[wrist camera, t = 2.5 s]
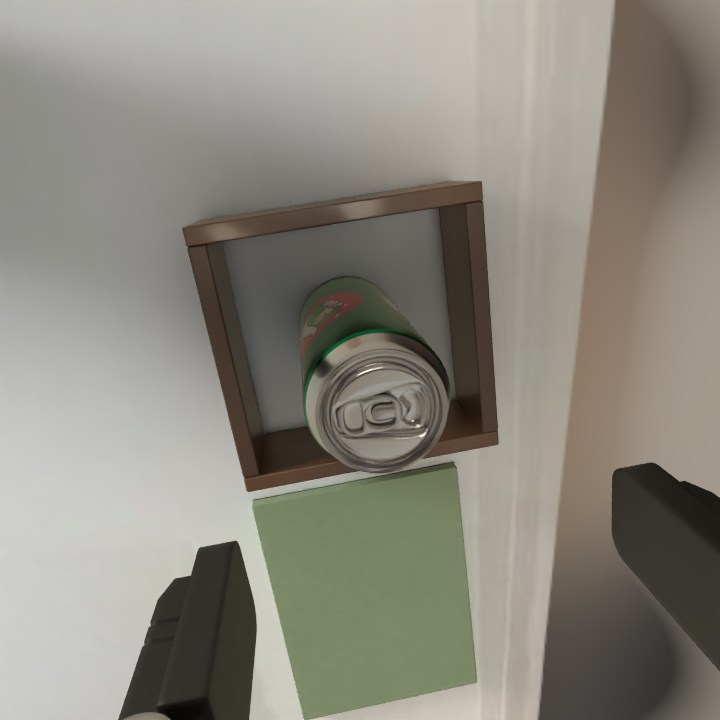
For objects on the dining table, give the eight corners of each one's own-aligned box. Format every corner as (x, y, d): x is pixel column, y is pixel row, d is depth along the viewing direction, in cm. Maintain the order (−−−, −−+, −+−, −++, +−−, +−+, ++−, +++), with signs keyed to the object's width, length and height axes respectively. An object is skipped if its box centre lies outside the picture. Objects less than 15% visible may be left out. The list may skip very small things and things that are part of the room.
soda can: (398, 360, 30) (464, 470, 18) (306, 374, 29) (316, 495, 18) (388, 268, 28) (454, 327, 17) (291, 282, 28) (291, 352, 16)
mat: (303, 712, 37) (304, 720, 36) (252, 500, 31) (251, 506, 31) (474, 675, 38) (477, 682, 37) (454, 461, 32) (456, 467, 32)
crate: (253, 449, 30) (246, 492, 26) (199, 220, 26) (181, 227, 22) (471, 409, 31) (499, 445, 27) (452, 181, 27) (482, 181, 23)
